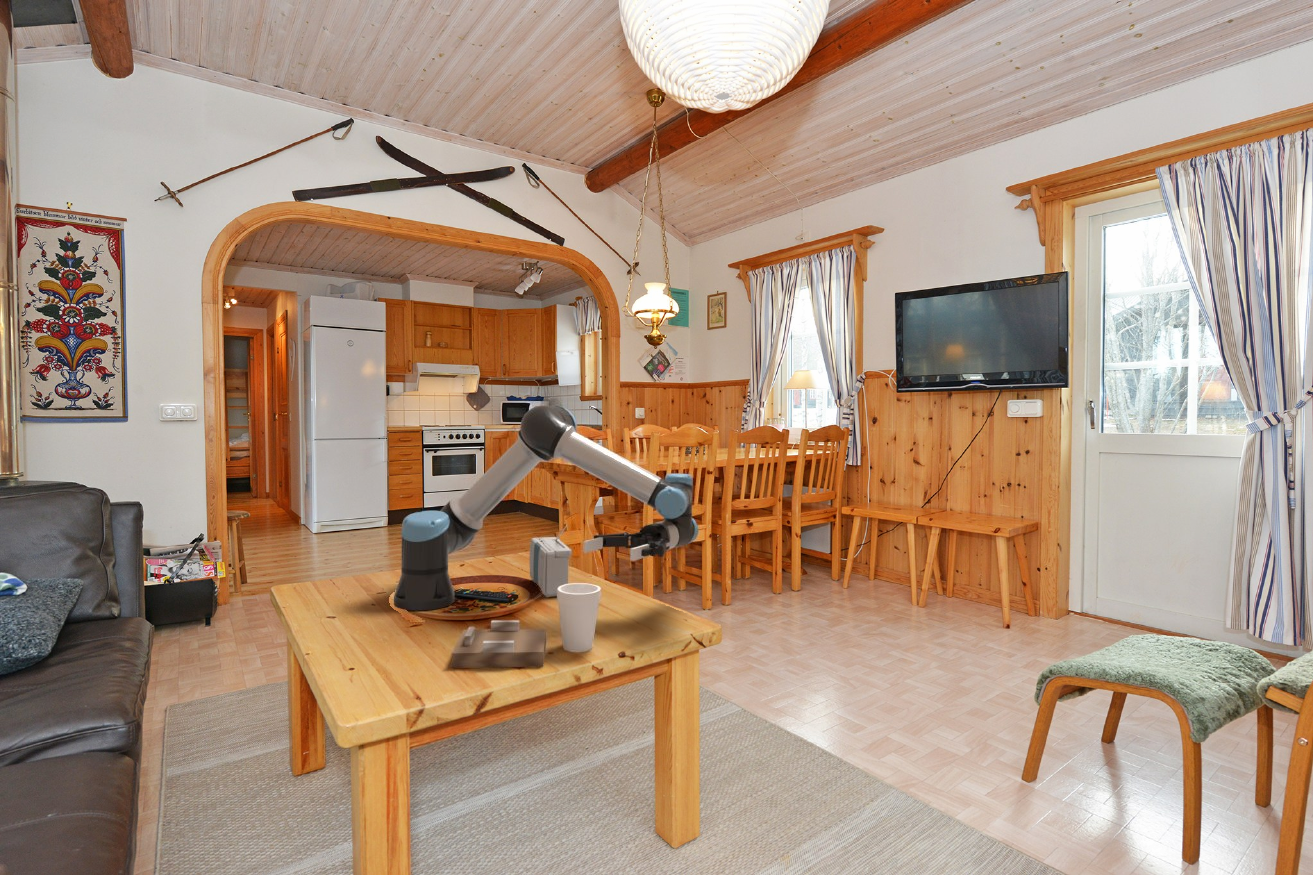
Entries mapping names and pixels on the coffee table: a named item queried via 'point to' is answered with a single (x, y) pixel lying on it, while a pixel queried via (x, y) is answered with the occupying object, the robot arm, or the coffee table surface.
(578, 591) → the foam cup
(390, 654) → the coffee table surface
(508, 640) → the shelf
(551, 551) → the stereo radio cassette player
